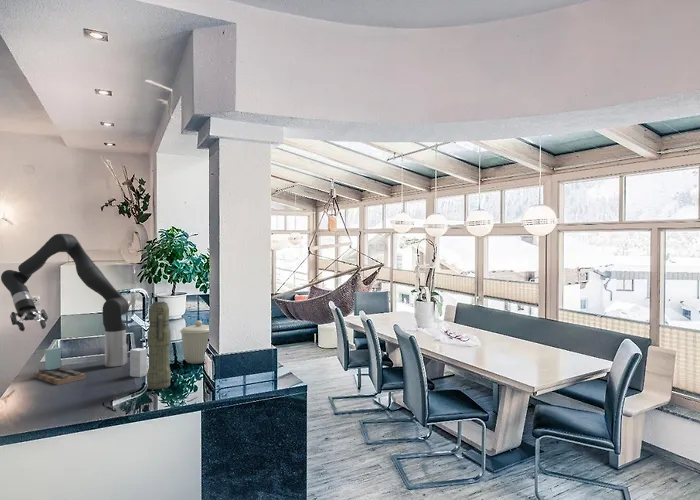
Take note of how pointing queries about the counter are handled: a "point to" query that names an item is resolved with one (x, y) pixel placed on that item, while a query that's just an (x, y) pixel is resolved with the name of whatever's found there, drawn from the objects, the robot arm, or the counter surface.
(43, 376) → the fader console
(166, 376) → the thermos
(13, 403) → the counter surface
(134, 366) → the skincare box
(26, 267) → the robot arm
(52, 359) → the fader tab
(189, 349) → the canister
